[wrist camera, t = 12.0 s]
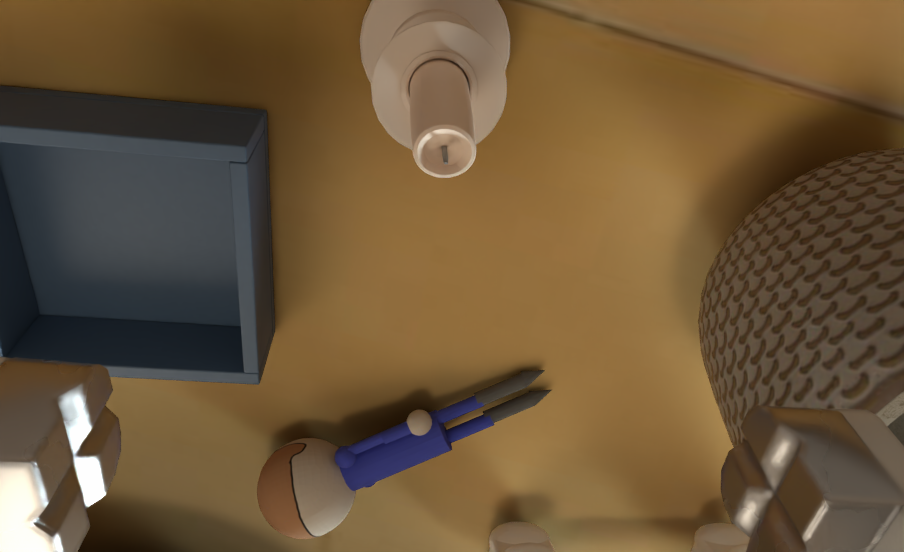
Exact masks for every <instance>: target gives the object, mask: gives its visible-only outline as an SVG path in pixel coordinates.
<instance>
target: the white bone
mask: <svg viewBox="0 0 904 552" xmlns="http://www.w3.org/2000/svg"><path fill="white" fill-rule="evenodd" d="M749 540H750V537H748V536H747V535H746V534H745V533H744V532H742V531H741V530H740V529H739V528H738V527H737V526H735V525H733V524H728V523H711V524H707V525H704V526H702V527H700V528H699V529H698V530H697V531H696V533H695V535H694V545H693V547H692V549H691V552H746V550H747V546H748V543H749ZM489 544H490V548H489V552H555V550H554V548H553V546H552V544H551V542H550V539H549V537H548V534H547V533H546V532H545V531H544V530H543V529H542V528H541V527H539V526H537V525H535V524H532V523H527V522H508V523H504V524H501V525H499V526H497V527H496V528H495V529H494V530H493V531H492V532H491V534H490V536H489Z"/></svg>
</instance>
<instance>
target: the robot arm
mask: <svg viewBox="0 0 904 552" xmlns="http://www.w3.org/2000/svg"><path fill="white" fill-rule="evenodd" d="M112 391H113V388H112V384H111V380H110V376H109V372H108V369H107V368H105V367H103V366H102V365H100V364H88V363H77V362H65V361H53V360H41V359H29V358H17V357H14V358H7V357H0V552H78V550H79V548H80V546H81V544H82V542H83V540H84V538H85V536H86V534H87V532H88V530H89V528H90V523H89V519H88V515H87V511H86V508H87V507H89V506H90V505H92V504H93V503H95V502H96V501H97V500H99V499H100V498H102V497H103V496H105V495H106V493H107V491H108V489H109V487H110V484H111V482H112V480H113V478H114V476H115V473H116V469H117V464H118V460H119V456H120V452H121V430H120V424H119V419H118V417H117V416H116V415H115V414H114V413H113V412H111V411H110V410H109V409H108V408H107V407H106V406H105V404H106V402H107V400H108V398H109V397H110V395H111V393H112ZM740 428H741V430H742V433H743V435H744V437H745V440H744V441H743V442H742V443H740V444H739V445H737V446H736V447H734V448H733V449H731V450H730V451H729V452H728V455H727V457H726V460H725V462H724V465H723V467H722V469H721V493H722V498H723V502H724V506H725V509H726V511H727V513H728V515H729V517H730V520H731V522H732V523H733V524H734V525H735V526H737V527H738V528H739V529H740V530H741V531H742V532H744V533H745V534H746V535H747V536H748V537H750V540H749V543H748V546H747V550H746V552H904V446H903V445H902V444H901V442H900V441H899V440H898V439H897V438H896V436H895V435H894V434H893V433H892V432H891V430H890V429H889V428H888V427H887V426H886V424H885V423H884V422H883V421H882V420H881V418H880V417H878V416H877V415H875V414H873V413H872V412H870V411H868V410H854V409H828V410H827V409H817V408H799V407H781V406H763V405H756V406H755V407H753V408H752V409H751V410H750V411H749V412H747V414H746V416H745V418H744V420H743V422H742V424H741V426H740Z"/></svg>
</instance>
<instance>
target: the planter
mask: <svg viewBox="0 0 904 552" xmlns="http://www.w3.org/2000/svg"><path fill="white" fill-rule="evenodd" d="M698 324H699V336H700V347H701V353H702V357H703V361H704V365H705V368H706V372H707V375H708V378H709V381H710V384H711V388H712V391H713V394H714V397H715V400H716V403H717V405H718V408H719V411H720V413H721V416H722V419H723V421H724V424H725V427H726V429H727V432H728V435H729V438H730V440H731V442H732V445H733V447H736V446H737V445H739V444H740V443H742V442H743V441H744V440H745V437H744V435H743V433H742V430H741V428H740V426H741V424H742V422H743V420H744V418H745V416H746V414H747V412H749V411H750V410H751V409H752V408H753V407H755V406H756V405H763V406H781V407H799V408H817V409H827V410H828V409H854V410H868V411H870V412H872V413H873V414H875V415H877V416H878V417H880V418H881V420H882V421H883V422H884V423H885V424H886V426H887V427H888V428H889V429H890V430H891V432H892V433H893V434H894V435H895V436H896V438H897V439H898V440H899V441H900V442H901V444H902V445H903V446H904V148H893V149H884V150H875V151H868V152H864V153H860V154H856V155H852V156H848V157H844V158H841V159H838V160H836V161H833V162H831V163H828V164H825V165H823V166H820V167H818V168H815V169H813V170H811V171H809V172H808V173H806V174H804V175H802V176H800V177H798V178H796V179H794V180H792V181H791V182H789V183H787V184H786V185H784V186H783V187H781V188H780V189H779V190H777V191H776V192H774V193H773V194H771V195H770V196H768V197H767V198H766V199H765V200H764V201H762V202H761V203H760V204H759V205H758V206H757V207H756V208H755V209H753V210H752V211H751V212H750V213H749V214H748V215H747V216H746V217H745V218H744V219H743V221H742V222H741V223H740V224H739V225H738V226H737V227H736V228H735V230H734V231H733V232H732V233H731V234H730V236H729V237H728V239H727V240H726V242H725V243H724V245H723V246H722V248H721V249H720V251H719V252H718V254H717V255H716V258H715V260H714V262H713V264H712V266H711V268H710V270H709V272H708V274H707V277H706V281H705V284H704V287H703V290H702V294H701V302H700V311H699V320H698Z"/></svg>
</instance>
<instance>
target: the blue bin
mask: <svg viewBox="0 0 904 552" xmlns="http://www.w3.org/2000/svg"><path fill="white" fill-rule="evenodd" d="M274 333H275V314H274V288H273V261H272V235H271V208H270V182H269V155H268V129H267V111H266V110H263V109H252V108H241V107H230V106H219V105H208V104H197V103H186V102H175V101H164V100H153V99H142V98H131V97H120V96H109V95H98V94H87V93H76V92H65V91H54V90H42V89H31V88H20V87H9V86H0V357H7V358H14V357H17V358H29V359H41V360H53V361H65V362H77V363H88V364H100V365H102V366H103V367H105V368H107V369H108V372H109V376H110V377H125V378H144V379H163V380H182V381H201V382H220V383H239V384H259V383H260V381H261V377H262V374H263V370H264V367H265V364H266V360H267V357H268V353H269V350H270V346H271V343H272V340H273V336H274Z"/></svg>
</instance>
